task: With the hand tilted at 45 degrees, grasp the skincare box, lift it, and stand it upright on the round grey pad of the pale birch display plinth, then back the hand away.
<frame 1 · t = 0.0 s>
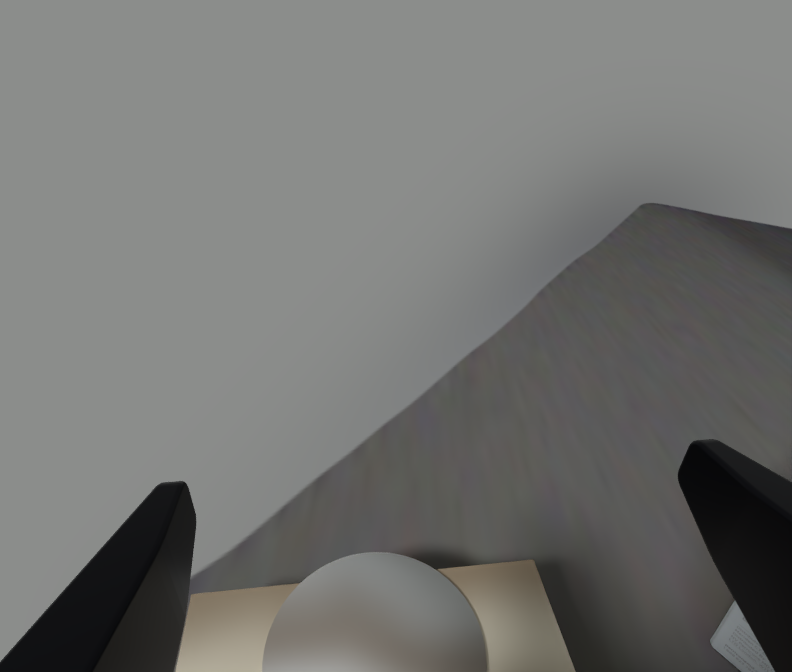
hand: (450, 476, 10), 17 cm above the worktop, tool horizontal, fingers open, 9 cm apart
skincare box: (784, 647, 24), on the worktop
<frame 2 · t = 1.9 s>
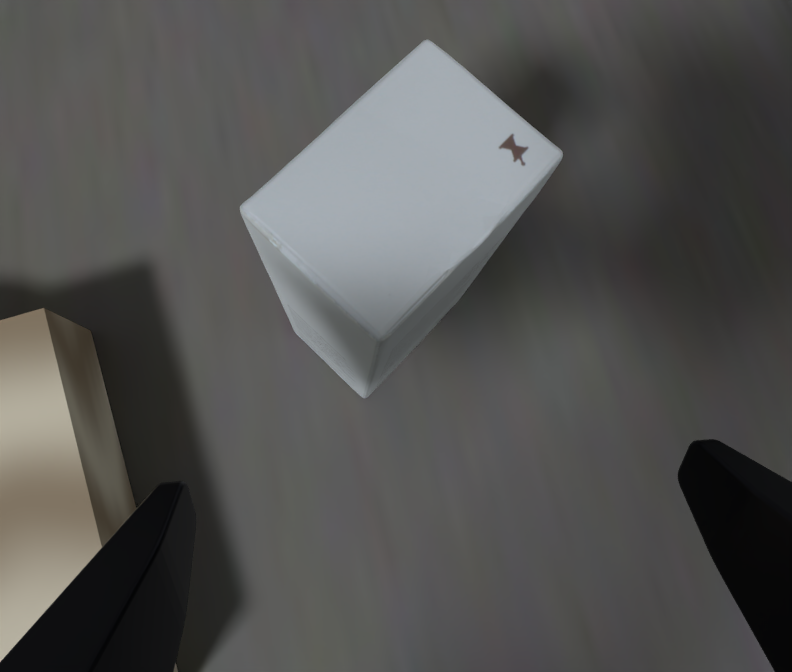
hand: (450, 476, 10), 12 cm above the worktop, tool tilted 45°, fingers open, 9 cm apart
skincare box: (375, 318, 23), on the worktop
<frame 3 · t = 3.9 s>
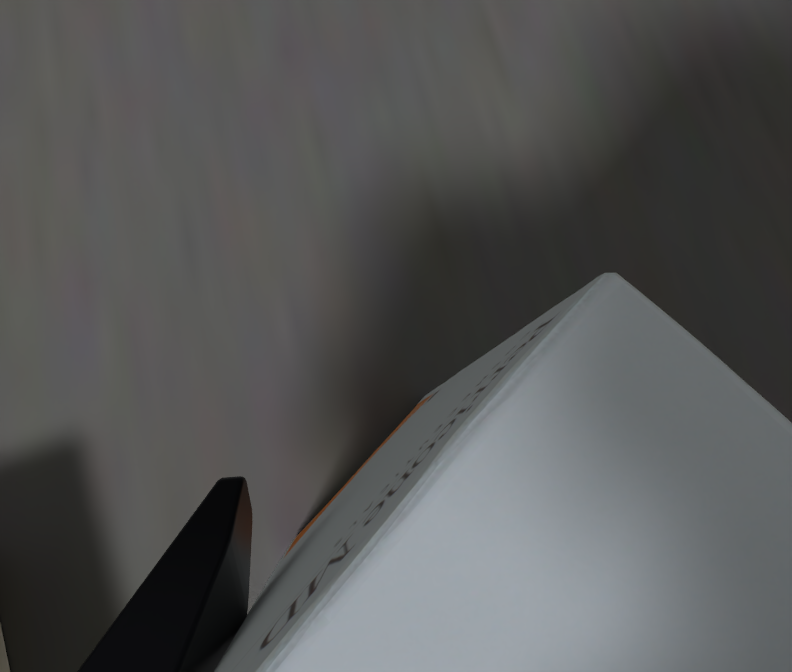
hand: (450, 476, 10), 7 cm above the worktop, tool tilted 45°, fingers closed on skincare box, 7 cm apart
skincare box: (407, 514, 16), on the worktop, touching gripper
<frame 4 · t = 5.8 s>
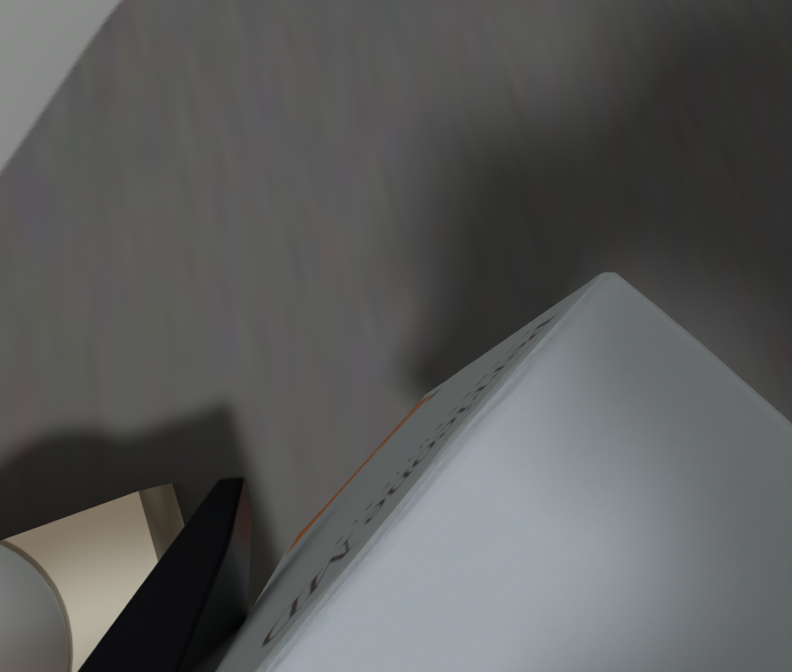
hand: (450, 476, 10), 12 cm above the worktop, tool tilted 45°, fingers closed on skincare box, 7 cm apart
skincare box: (408, 513, 16), point 6 cm above the worktop, touching gripper
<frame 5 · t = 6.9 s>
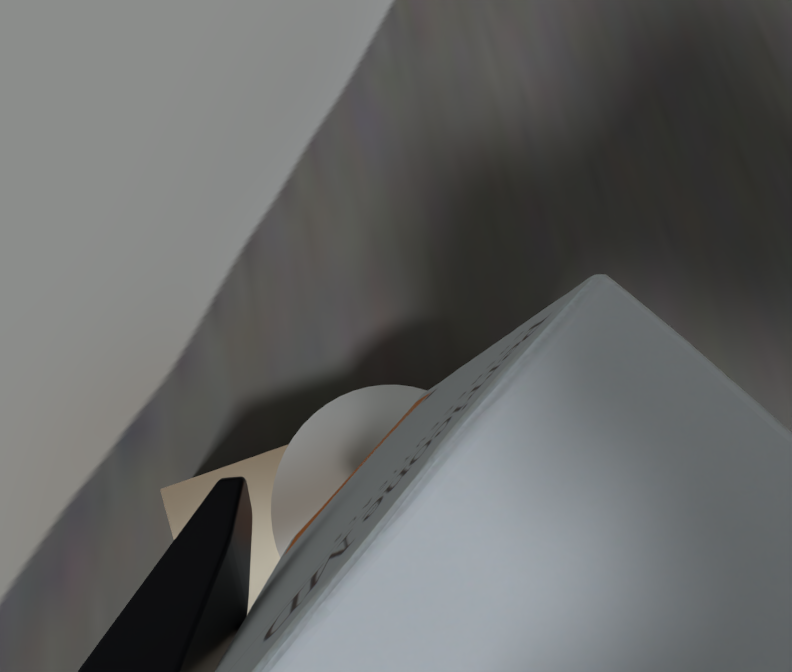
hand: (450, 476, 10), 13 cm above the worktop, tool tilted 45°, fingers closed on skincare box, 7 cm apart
skincare box: (406, 512, 16), point 6 cm above the worktop, touching gripper
display plinth: (416, 593, 21), on the worktop
when the fingers open (11 cm above the worktop, at t = 7.8 s): skincare box stays where it is, resting on display plinth.
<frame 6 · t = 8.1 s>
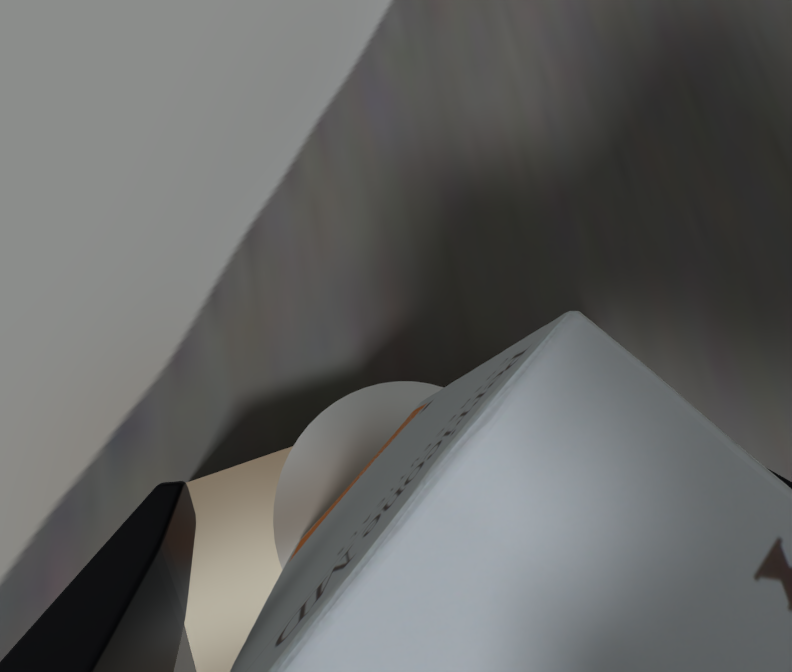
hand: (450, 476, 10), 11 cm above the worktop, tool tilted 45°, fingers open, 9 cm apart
skincare box: (406, 516, 17), point 3 cm above the worktop, touching display plinth
display plinth: (431, 609, 19), on the worktop
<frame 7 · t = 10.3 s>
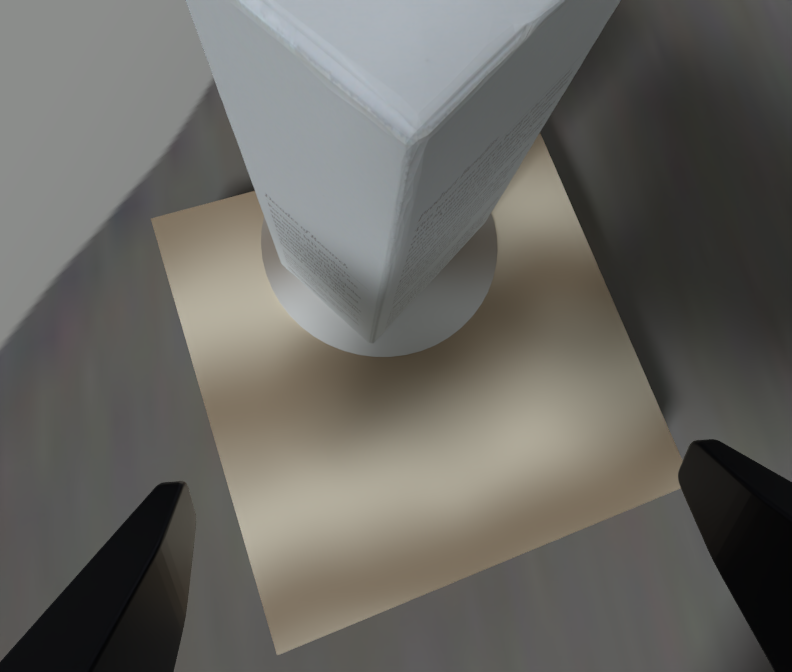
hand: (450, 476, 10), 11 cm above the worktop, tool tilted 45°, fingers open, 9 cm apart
skincare box: (381, 246, 18), point 3 cm above the worktop, touching display plinth
display plinth: (408, 367, 21), on the worktop
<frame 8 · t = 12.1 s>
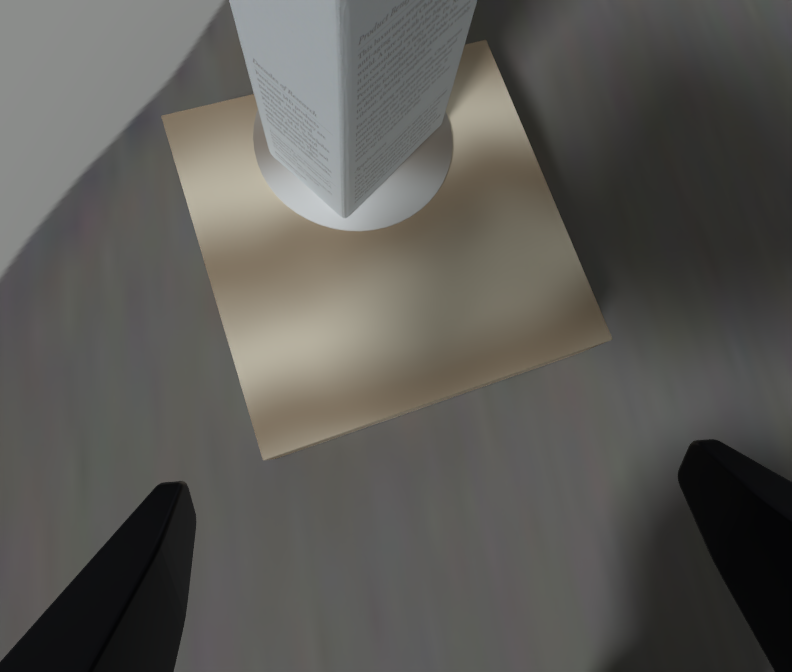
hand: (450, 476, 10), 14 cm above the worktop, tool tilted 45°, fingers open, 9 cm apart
skincare box: (354, 143, 22), point 3 cm above the worktop, touching display plinth
display plinth: (380, 258, 25), on the worktop
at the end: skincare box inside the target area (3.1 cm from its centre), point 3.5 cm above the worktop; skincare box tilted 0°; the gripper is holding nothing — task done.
